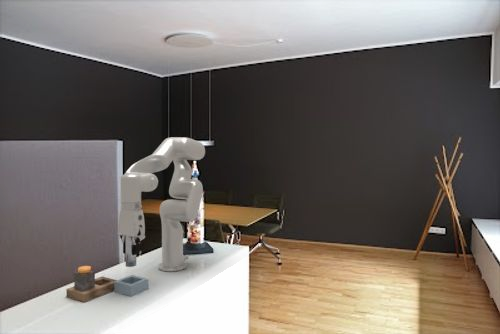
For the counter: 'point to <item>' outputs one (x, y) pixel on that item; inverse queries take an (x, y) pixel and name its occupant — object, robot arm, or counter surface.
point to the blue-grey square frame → (131, 285)
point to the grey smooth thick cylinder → (129, 252)
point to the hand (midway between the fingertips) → (131, 253)
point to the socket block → (89, 287)
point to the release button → (84, 269)
